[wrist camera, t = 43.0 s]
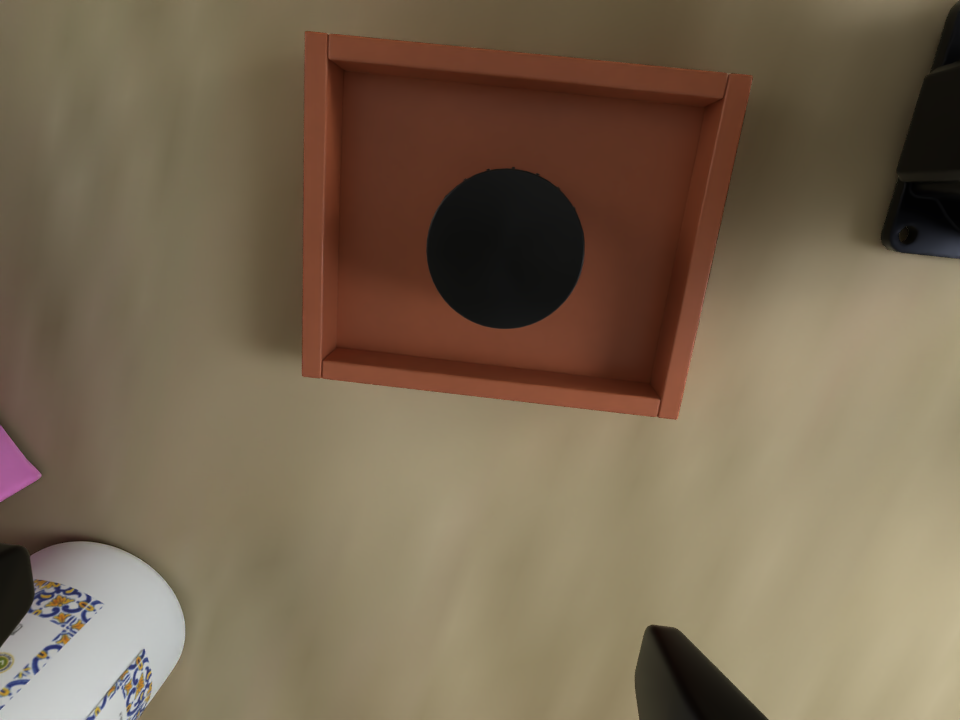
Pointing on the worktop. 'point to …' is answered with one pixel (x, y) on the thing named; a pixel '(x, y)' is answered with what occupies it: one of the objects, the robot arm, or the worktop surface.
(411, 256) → the tray
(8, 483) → the gum box
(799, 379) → the worktop surface
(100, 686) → the bath foam
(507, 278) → the cap
